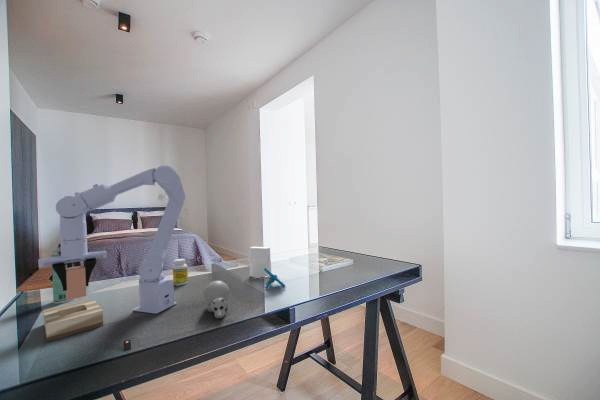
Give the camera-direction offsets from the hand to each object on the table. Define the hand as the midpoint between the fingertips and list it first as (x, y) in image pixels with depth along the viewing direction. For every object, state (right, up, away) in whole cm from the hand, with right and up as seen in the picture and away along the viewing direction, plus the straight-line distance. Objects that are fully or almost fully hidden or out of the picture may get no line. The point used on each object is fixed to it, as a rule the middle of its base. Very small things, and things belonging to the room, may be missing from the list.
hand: (75, 287), depth 75 cm
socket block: (+1, -9, -2) cm, 10 cm away
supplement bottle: (+15, -9, +32) cm, 37 cm away
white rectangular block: (+46, -8, +39) cm, 61 cm away
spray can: (-19, -10, +17) cm, 27 cm away
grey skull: (+39, -8, +2) cm, 40 cm away
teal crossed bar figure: (+54, -8, +23) cm, 59 cm away
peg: (0, -2, 0) cm, 2 cm away
